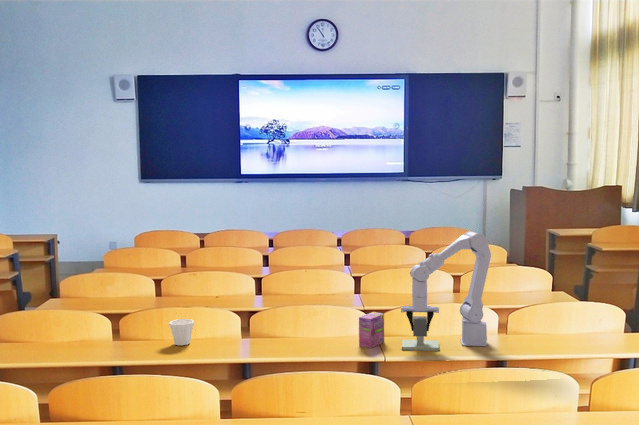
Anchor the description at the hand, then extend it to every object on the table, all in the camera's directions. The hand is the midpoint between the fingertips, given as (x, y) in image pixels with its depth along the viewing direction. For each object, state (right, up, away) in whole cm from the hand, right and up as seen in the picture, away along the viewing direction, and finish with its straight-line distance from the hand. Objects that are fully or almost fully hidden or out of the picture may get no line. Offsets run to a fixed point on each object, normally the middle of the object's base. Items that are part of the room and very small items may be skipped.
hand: (420, 330), depth 244 cm
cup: (-95, -8, +12) cm, 96 cm away
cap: (0, -2, 0) cm, 2 cm away
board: (0, -6, 0) cm, 6 cm away
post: (0, -5, 0) cm, 5 cm away
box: (-18, -7, +5) cm, 20 cm away
